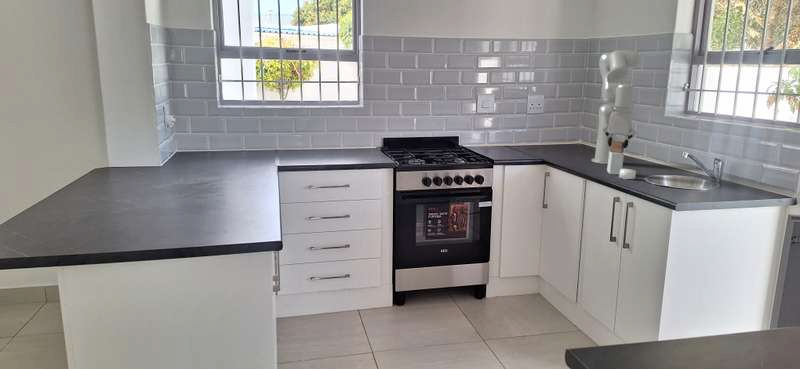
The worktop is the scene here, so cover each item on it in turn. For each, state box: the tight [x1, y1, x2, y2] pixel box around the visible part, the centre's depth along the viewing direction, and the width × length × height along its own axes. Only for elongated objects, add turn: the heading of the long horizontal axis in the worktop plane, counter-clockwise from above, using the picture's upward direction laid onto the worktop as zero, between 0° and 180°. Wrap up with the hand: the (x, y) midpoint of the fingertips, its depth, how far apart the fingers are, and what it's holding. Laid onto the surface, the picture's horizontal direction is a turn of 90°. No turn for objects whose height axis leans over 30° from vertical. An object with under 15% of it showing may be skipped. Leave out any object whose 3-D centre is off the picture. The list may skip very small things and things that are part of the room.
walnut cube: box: [610, 140, 625, 154], centre depth 275 cm, size 5×5×5 cm
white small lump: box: [618, 168, 637, 180], centre depth 266 cm, size 7×7×4 cm
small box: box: [606, 151, 625, 176], centre depth 277 cm, size 8×6×10 cm
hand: (617, 146), depth 275 cm, fingers open, 6 cm apart
